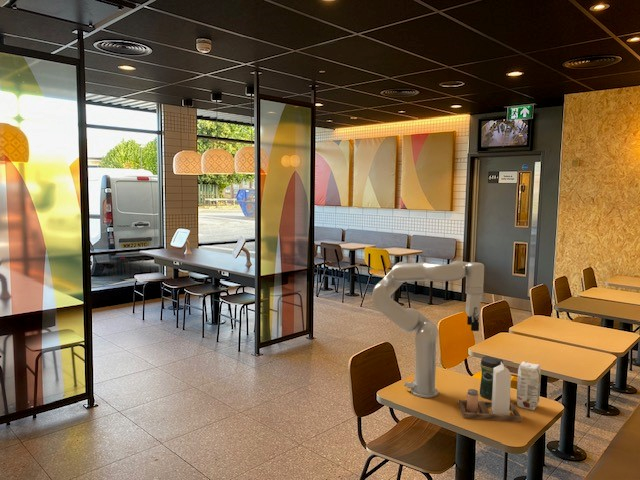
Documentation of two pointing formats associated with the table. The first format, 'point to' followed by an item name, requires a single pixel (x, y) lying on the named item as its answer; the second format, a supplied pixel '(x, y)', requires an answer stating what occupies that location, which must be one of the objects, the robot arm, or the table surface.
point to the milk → (501, 390)
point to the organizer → (485, 413)
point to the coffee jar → (488, 375)
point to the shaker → (472, 401)
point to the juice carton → (528, 385)
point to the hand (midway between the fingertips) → (472, 327)
